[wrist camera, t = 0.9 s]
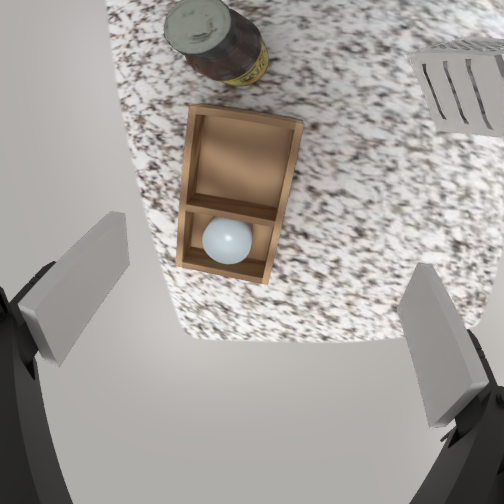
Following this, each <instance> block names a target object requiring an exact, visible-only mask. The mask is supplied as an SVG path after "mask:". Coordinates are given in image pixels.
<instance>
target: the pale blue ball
mask: <svg viewBox="0 0 504 504" xmlns="http://www.w3.org/2000/svg"><path fill="white" fill-rule="evenodd" d="M253 236H254V228H253V224H252V223H247V222H242V221H237V220H232V219H227V218H221V217H216V216H213V217H212V219H211V220H210V222H209V224H208V226H207V228H206V230H205V231H204V234H203V238H202V243H203V247H204V250H205V251H206V253H207V254H208V255H209V256H210V257H211V258H212V259H213V260H215V261H217V262H219V263H223V264H235V263H238V262H240V261H242V260H243V259H245V258H246V257H247V255H248V254H249V252H250V249H251V244H252V240H253Z"/></svg>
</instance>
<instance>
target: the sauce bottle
mask: <svg viewBox="0 0 504 504" xmlns="http://www.w3.org/2000/svg"><path fill="white" fill-rule="evenodd" d="M164 34H165V37H166V39H167V41H168V42H169V44H170V45H171V46H172V47H173V48H174V49H176V50H177V51H178V52H180V53H181V54H183V55H185V57H186V59H187V61H188V63H189V64H190V66H192V67H193V68H194V69H195V70H197V71H198V72H199V73H201V74H203V75H205V76H206V77H208V78H210V79H213V80H216V81H220V82H223V83H227V84H230V85H233V86H245V85H249V84H252V83H254V82H255V81H257V80H258V79H260V78H261V77H262V75H263V74H264V73H265V71H266V69H267V66H268V53H267V50H266V48H265V45H264V42H263V40H262V37H261V34H260V32H259V30H258V28H257V27H256V26H255V25H254V24H253V23H252V22H250V21H249V20H248V19H246V18H245V17H243V16H242V15H240V14H239V13H237V12H236V11H234V10H232V9H229V8H228V6H227V5H226V4H225V3H224V2H222V1H221V0H181V1H180V2H179V3H177V4H176V5H175V6H174V7H173V8H172V9H171V10H170V12H169V13H168V15H167V17H166V21H165V25H164Z"/></svg>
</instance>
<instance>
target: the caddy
mask: <svg viewBox="0 0 504 504" xmlns="http://www.w3.org/2000/svg"><path fill="white" fill-rule="evenodd" d="M303 127H304V123H303V121H302V120H299V119H295V118H290V117H285V116H280V115H275V114H269V113H264V112H258V111H252V110H246V109H239V108H233V107H226V106H218V105H210V104H197V105H192V106H189V113H188V121H187V130H186V138H185V148H184V157H183V168H182V179H181V190H180V203H179V218H178V234H177V253H176V266H178V267H183V268H188V269H192V270H197V271H202V272H207V273H211V274H216V275H221V276H226V277H231V278H236V279H241V280H246V281H251V282H256V283H261V284H266V285H268V282H269V278H270V274H271V270H272V266H273V261H274V257H275V253H276V249H277V244H278V240H279V236H280V231H281V227H282V223H283V218H284V214H285V209H286V205H287V201H288V196H289V192H290V187H291V183H292V178H293V173H294V169H295V164H296V160H297V155H298V150H299V146H300V141H301V136H302V132H303ZM213 216H216V217H221V218H227V219H232V220H237V221H242V222H247V223H252V224H253V228H254V236H253V240H252V244H251V249H250V252H249V254H248V255H247V257H246V258H245V259H243V260H242V261H240V262H238V263H235V264H223V263H219V262H217V261H215V260H213V259H212V258H211V257H210V256H209V255H208V254H207V253H206V251H205V250H204V247H203V243H202V238H203V234H204V231H205V230H206V228H207V226H208V224H209V222H210V220H211V219H212V217H213Z"/></svg>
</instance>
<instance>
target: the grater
mask: <svg viewBox="0 0 504 504" xmlns="http://www.w3.org/2000/svg"><path fill="white" fill-rule="evenodd" d="M461 40H465V41H466V42H468V43H471V45H469V44H466V43H464V42H462V41H461ZM452 41H455V42H456V43H458V44H460V45H463V46H466V47H468V48H465V49H470V50H464V49H461V48H464V47H461V46H458V45H456V44H454V43H453V42H452ZM452 41H448V42H451V43H452V44H453V45H455V46H452V45H450V44H449V43H448V42H444V43H447V44H448V45H450V46H452V47H455V48H458V49H453V48H450V47H448V46H446V44H444V43H440V44H443V45H445V46H446V47H448V48H444V47H443V46H441V45H440V44H436V45H433V46H436V47H437V48H434V47H433V46H429V47H425V48H422V49H419V50H415V51H412V52H409V53H406V54H407V57H408V59H409V61H410V63H411V65H412V68H413V70H414V72H415V74H416V77H417V79H418V82H419V84H420V86H421V89H422V91H423V94H424V96H425V99H426V102H427V104H428V107H429V110H430V113H431V115H432V118H433V121H434V124H435V127H436V130H437V131H444V132H456V133H466V134H475V135H484V136H492V137H499V138H504V61H503V58H502V55H501V54H504V49H500V48H504V40H503V39H494V38H482V37H464V38H460V39H456V40H452ZM458 41H459V42H458ZM461 43H462V44H461ZM437 45H439V46H437ZM469 46H472V47H473V48H472V47H469ZM430 47H432V48H433V49H432V48H430ZM439 47H442V48H444V49H441V48H439ZM483 47H486V48H483ZM483 50H485V51H483ZM465 59H471V71H472V73H473V76H474V79H475V82H476V85H477V88H478V91H479V94H480V97H481V100H482V103H483V107H484V110H485V113H484V114H481V110H480V107H479V104H478V101H477V97H476V94H475V91H474V88H473V85H472V82H471V80H470V77H469V74H468V71H467V69H466V62H465ZM443 61H448V72H449V74H450V77H451V80H452V82H453V85H454V88H455V91H456V93H457V96H458V99H459V102H460V105H461V108H462V111H463V114H464V116H465V118H466V119H467V120H465V121H463V119H462V117H461V115H460V113H459V109H458V106H457V103H456V100H455V98H454V95H453V92H452V89H451V86H450V84H449V81H448V78H447V76H446V73H445V71H444V66H443ZM422 64H426V72H427V74H428V77H429V79H430V82H431V84H432V87H433V89H434V92H435V94H436V97H437V99H438V102H439V105H440V107H441V110H442V113H443V114H444V116H445V117H446V119H447V120H446V119H443V118H442V116H441V114H440V113H439V110H438V108H437V105H436V102H435V99H434V97H433V94H432V91H431V89H430V86H429V84H428V81H427V79H426V76H425V74H424V71H423V67H422Z"/></svg>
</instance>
